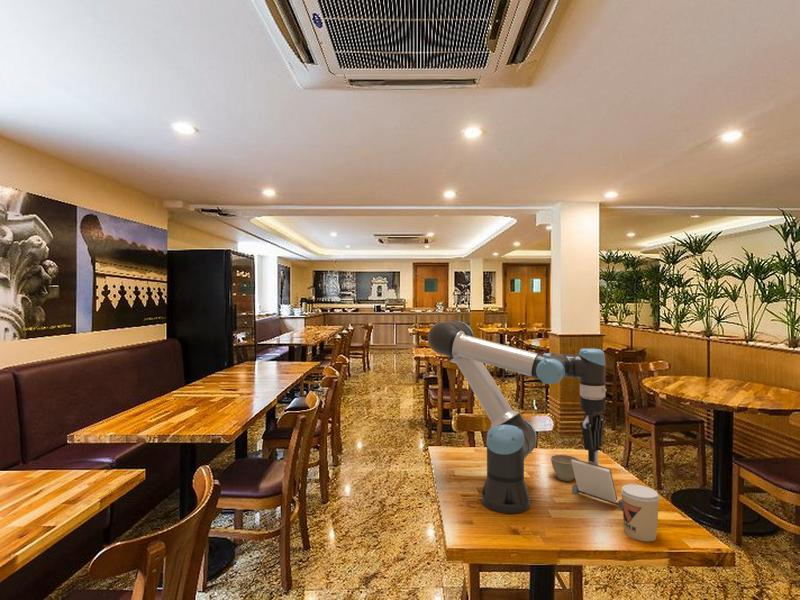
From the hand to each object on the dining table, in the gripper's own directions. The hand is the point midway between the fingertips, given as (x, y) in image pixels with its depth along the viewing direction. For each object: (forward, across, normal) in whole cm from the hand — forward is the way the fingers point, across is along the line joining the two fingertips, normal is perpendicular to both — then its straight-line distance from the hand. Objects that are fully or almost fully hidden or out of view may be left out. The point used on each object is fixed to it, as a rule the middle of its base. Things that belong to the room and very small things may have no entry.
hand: (593, 470), depth 140 cm
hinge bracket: (+10, +3, 0) cm, 11 cm away
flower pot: (+11, +12, +16) cm, 22 cm away
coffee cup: (+10, -10, -17) cm, 22 cm away
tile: (+3, 0, 0) cm, 3 cm away
